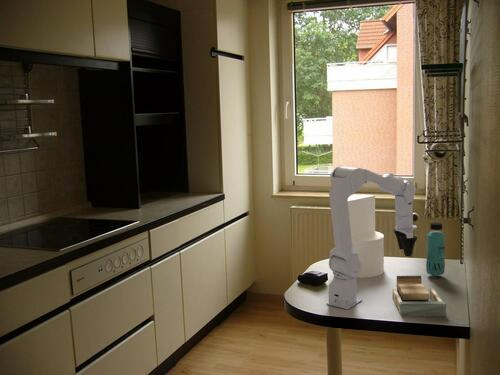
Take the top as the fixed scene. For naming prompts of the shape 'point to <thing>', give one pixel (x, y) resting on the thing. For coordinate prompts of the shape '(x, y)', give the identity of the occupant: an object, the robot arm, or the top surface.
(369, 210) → the white tall stepped piece
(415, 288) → the small wooden block
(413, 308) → the pale green tray
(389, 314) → the top surface
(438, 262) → the beverage bottle
